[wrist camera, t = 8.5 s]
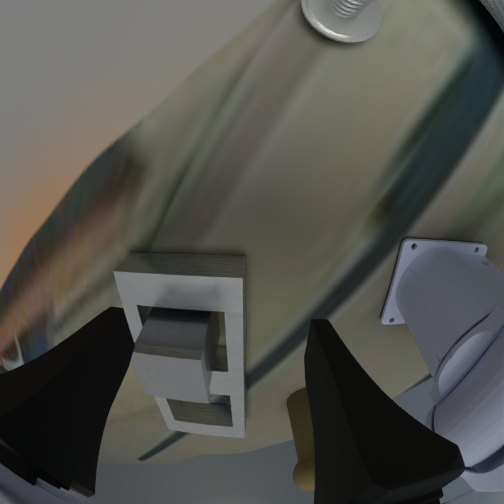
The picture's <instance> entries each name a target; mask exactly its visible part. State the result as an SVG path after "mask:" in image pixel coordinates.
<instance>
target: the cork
mask: <svg viewBox="0 0 504 504" xmlns="http://www.w3.org/2000/svg"><path fill="white" fill-rule="evenodd" d="M287 407H288V412H289V417H290V422H291V427H292V432H293V437H294V442H295V447H296V452H297V457H298V463H297V464H296V466H295V468H294V472H293V480H294V483H295V484H296V486H297V487H298V488H299V489H302V490H305V491H315V450H314V433H313V425H312V419H311V413H310V407H309V401H308V394H307V388H303V389H300V390H298V391H296V392H294V393H293V394H292V395H290V397H289V398H288V399H287Z"/></svg>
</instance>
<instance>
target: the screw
mask: <svg viewBox="0 0 504 504" xmlns="http://www.w3.org/2000/svg"><path fill="white" fill-rule="evenodd" d="M301 8H302V12H303V15H304V16H305V18H306V20H307V21H308V23H309V24H310V25H311V26H312V27H313V28H314V29H315V30H316V31H318V32H319V33H320V34H322V35H324V36H325V37H327V38H330V39H332V40H335V41H338V42H343V43H359V42H363V41H366V40H368V39H370V38H371V37H373V36H374V35H375V34H376V33H377V32H378V31H379V29H380V27H381V24H382V11H381V8H380V5H379V3H378V1H377V0H301Z"/></svg>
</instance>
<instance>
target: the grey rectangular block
mask: <svg viewBox="0 0 504 504" xmlns="http://www.w3.org/2000/svg"><path fill="white" fill-rule="evenodd" d="M219 337H220V331H219V319H218V311H203V310H189V309H176V308H164V307H153V308H152V310H151V312H150V314H149V316H148V318H147V320H146V322H145V324H144V326H143V328H142V330H141V332H140V334H139V336H138V338H137V340H136V342H135V347H134V351H133V354H132V358H131V362H132V364H133V367H134V369H135V372H136V374H137V376H138V379H139V381H140V383H141V386H142V388H143V390H144V392H145V394H146V395H150V396H155V397H161V398H167V399H174V400H181V401H189V402H197V403H207V404H209V401H210V396H211V394H210V389H209V388H210V383H211V378H212V372H213V367H214V362H215V357H216V352H217V347H218V342H219Z"/></svg>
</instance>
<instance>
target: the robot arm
mask: <svg viewBox="0 0 504 504" xmlns="http://www.w3.org/2000/svg"><path fill="white" fill-rule="evenodd" d="M414 243H415V245H414V247H411V246H412V245H413V244H414ZM475 248H476V249H475ZM486 252H487V245H485V244H484V243H473V242H459V241H445V240H430V239H414V238H406V239H405V240H403V242H402V244H401V248H400V252H399V256H398V260H397V264H396V268H395V272H394V276H393V279H392V283H391V286H390V290H389V293H388V296H387V300H386V303H385V306H384V309H383V312H382V315H381V319H380V320H381V323H382V324H383V325H389V324H406V325H407V327H408V328H409V330H410V332H411V334H412V336H413V338H414V340H415V342H416V344H417V346H418V348H419V350H420V352H421V354H422V356H423V358H424V360H425V362H426V364H427V367H428V369H429V371H430V373H431V375H432V377H433V379H434V382H435V385H434V387H433V389H432V390H431V391H430V396H431V398H432V401H433V403H434V406H433V407H432V408H431V409H430V411H429V413H428V415H427V418H426V423H425V426H424V425H423V424H421V423H420V422H419V421H417V420H416V419H414V418H413V417H412V416H411V415H409V414H408V413H407V412H406V411H404V410H403V409H402V408H401V407H399V406H398V405H397V404H396V403H395V402H394V401H393V400H392V399H391V398H389V397H388V396H387V395H386V394H385V393H384V392H383V391H382V390H381V389H380V388H379V386H378V385H377V384H376V383H375V382H374V381H373V380H372V379H371V378H370V376H369V375H368V374H367V373H366V372H365V371H364V369H363V368H362V367H361V366H360V364H359V363H358V362H357V360H356V359H355V358H354V356H353V355H352V354H351V353H350V351H349V350H348V348H347V347H346V346H345V344H344V343H343V341H342V340H341V338H340V337H339V335H338V334H337V332H336V331H335V329H334V328H333V326H332V325H331V323H330V322H329V321H328V319H311V324H310V329H309V335H308V340H307V345H306V351H305V356H304V364H305V382H306V388H307V394H308V401H309V407H310V413H311V419H312V425H313V433H314V450H315V491H314V504H440V500H439V499H440V498H442V497H443V491H442V487H444V486H446V485H447V484H448V483H450V482H452V481H453V480H455V479H456V478H458V477H459V476H461V477H463V478H464V479H465V480H466V481H467V482H468V484H469V485H470V486H471V487H472V489H473V490H471V491H469V492H467V493H465V494H463V495H461V496H458V497H456V498H454V499H452V500H449V501H447V502H445V503H443V504H478V500H477V496H476V492H475V491H487V492H488V491H489V492H490V491H504V273H503V272H502V271H501V270H499V269H498V268H497V267H496V266H495V265H494V264H493V263H492V262H491V261H490V260H489V259H487V258H486V257H485V255H486ZM391 318H392V319H391ZM390 319H391V320H390ZM134 347H135V343H134V340H133V337H132V334H131V331H130V328H129V325H128V322H127V318H126V315H125V312H124V308H118V307H109V308H108V309H106V310H105V311H103V312H102V313H101V314H99V315H98V316H96V317H95V318H94V319H92V320H91V321H90V322H88V323H87V324H86V325H84V326H83V327H82V328H80V329H79V330H78V331H76V332H75V333H74V334H72V335H71V336H70V337H68V338H67V339H65V340H64V341H62V342H61V343H59V344H58V345H57V346H55V347H54V348H52V349H51V350H49V351H48V352H46V353H44V354H43V355H41V356H39V357H37V358H36V359H34V360H32V361H30V362H28V363H26V364H24V365H22V366H20V367H17V368H15V369H13V370H11V371H8V372H6V373H3V374H0V504H90V503H88V502H85V501H83V500H81V499H79V498H76V497H74V496H72V495H70V494H68V493H66V492H64V491H62V490H60V487H62V488H64V489H66V490H68V491H69V489H71V490H73V491H76V492H78V493H80V494H82V495H84V496H87V497H90V496H93V495H94V494H95V482H96V469H97V462H98V455H99V449H100V445H101V440H102V435H103V431H104V427H105V424H106V420H107V416H108V414H109V411H110V408H111V406H112V403H113V401H114V399H115V397H116V394H117V392H118V390H119V388H120V385H121V383H122V381H123V379H124V376H125V374H126V372H127V369H128V367H129V364H130V361H131V358H132V354H133V351H134Z"/></svg>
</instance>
